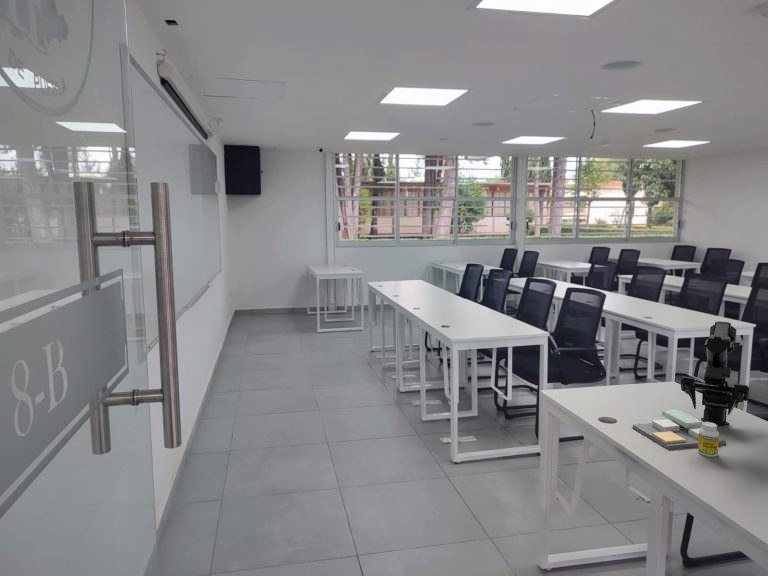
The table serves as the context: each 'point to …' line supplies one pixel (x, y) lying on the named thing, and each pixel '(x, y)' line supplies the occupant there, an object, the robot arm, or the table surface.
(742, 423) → the table surface
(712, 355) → the robot arm
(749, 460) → the table surface
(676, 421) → the green key
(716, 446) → the supplement bottle
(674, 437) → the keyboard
